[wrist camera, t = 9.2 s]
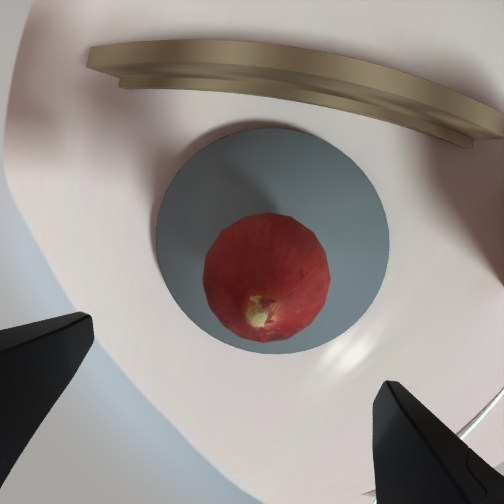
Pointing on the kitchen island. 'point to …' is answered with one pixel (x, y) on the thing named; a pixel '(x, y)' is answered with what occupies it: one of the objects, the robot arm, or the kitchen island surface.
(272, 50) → the walnut screen
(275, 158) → the slate plate
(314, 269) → the onion
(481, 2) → the kitchen island surface
